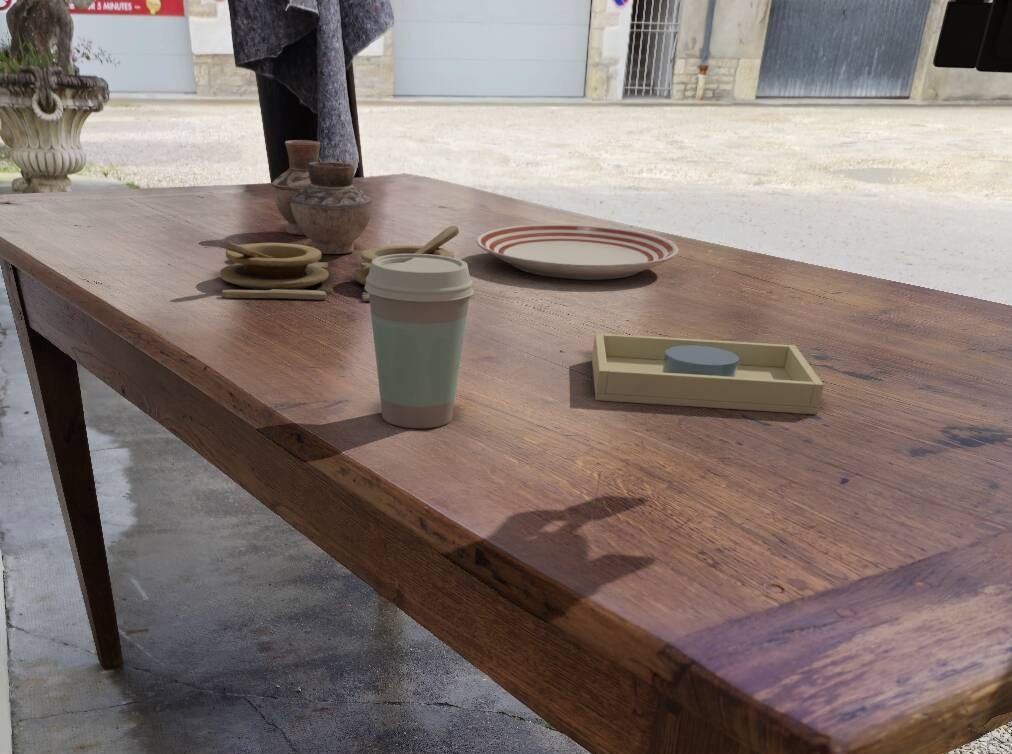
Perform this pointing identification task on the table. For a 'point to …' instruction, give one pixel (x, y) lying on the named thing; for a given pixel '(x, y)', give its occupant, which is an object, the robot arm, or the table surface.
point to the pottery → (321, 199)
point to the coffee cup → (418, 334)
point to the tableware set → (302, 267)
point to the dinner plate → (577, 250)
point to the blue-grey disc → (700, 361)
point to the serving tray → (704, 376)
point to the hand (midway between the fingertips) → (975, 69)
